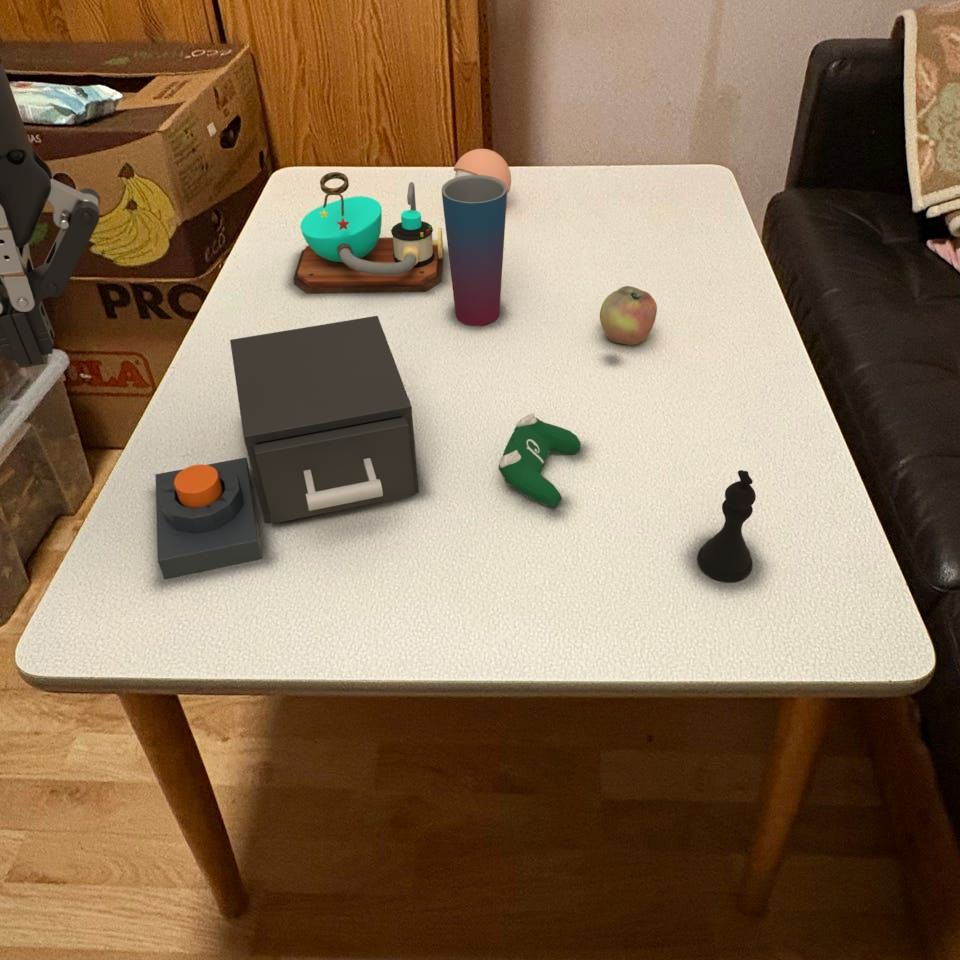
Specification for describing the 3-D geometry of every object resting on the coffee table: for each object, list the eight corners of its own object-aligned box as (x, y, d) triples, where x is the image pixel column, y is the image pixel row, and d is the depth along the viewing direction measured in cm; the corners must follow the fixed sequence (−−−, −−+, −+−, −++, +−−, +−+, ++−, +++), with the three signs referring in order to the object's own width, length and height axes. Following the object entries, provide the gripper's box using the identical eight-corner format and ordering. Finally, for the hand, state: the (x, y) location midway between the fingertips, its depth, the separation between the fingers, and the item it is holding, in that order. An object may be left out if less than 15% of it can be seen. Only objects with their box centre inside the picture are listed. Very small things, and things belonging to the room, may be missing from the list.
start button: (223, 503, 76) (219, 487, 75) (179, 512, 75) (174, 496, 74) (221, 475, 78) (216, 460, 77) (178, 484, 78) (173, 468, 77)
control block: (262, 558, 76) (253, 524, 73) (164, 579, 75) (151, 545, 72) (250, 475, 84) (242, 441, 81) (161, 492, 82) (150, 458, 80)
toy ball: (441, 209, 124) (438, 152, 119) (478, 190, 128) (477, 134, 123) (486, 226, 120) (486, 168, 115) (523, 205, 124) (523, 148, 119)
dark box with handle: (426, 528, 77) (420, 457, 72) (277, 559, 75) (260, 488, 69) (384, 405, 90) (377, 338, 85) (256, 428, 88) (240, 361, 82)
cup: (440, 304, 106) (433, 179, 96) (496, 294, 107) (495, 170, 97) (457, 334, 101) (451, 207, 91) (515, 324, 102) (516, 196, 92)
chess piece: (731, 537, 77) (753, 446, 70) (762, 573, 74) (788, 481, 67) (686, 552, 76) (704, 461, 69) (716, 589, 73) (738, 497, 66)
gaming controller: (557, 457, 88) (515, 415, 86) (586, 440, 85) (543, 397, 83) (532, 522, 81) (485, 478, 79) (562, 505, 79) (515, 460, 77)
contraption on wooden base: (441, 302, 106) (434, 177, 96) (287, 304, 106) (264, 179, 96) (445, 244, 116) (440, 126, 106) (305, 246, 117) (286, 128, 107)
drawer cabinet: (419, 492, 82) (411, 406, 75) (265, 523, 79) (243, 437, 73) (386, 398, 92) (377, 315, 86) (249, 423, 90) (229, 339, 83)
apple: (597, 359, 97) (601, 311, 93) (597, 319, 103) (601, 272, 99) (654, 362, 96) (661, 313, 92) (651, 321, 102) (657, 274, 98)
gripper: (-275, 95, 39) (-96, 416, 50) (51, 62, 41) (150, 374, 53) (-225, 43, 44) (-74, 344, 56) (61, 17, 47) (148, 309, 58)
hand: (35, 358), depth 54 cm, fingers closed
